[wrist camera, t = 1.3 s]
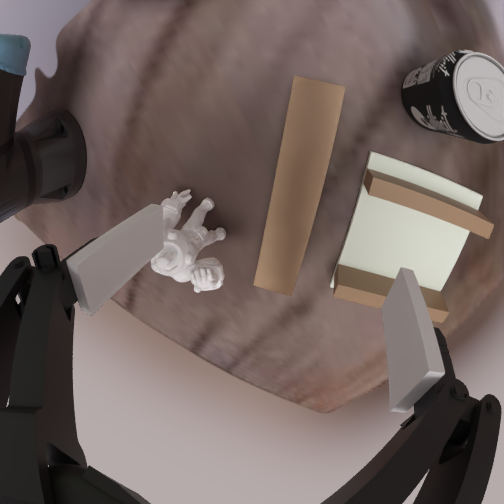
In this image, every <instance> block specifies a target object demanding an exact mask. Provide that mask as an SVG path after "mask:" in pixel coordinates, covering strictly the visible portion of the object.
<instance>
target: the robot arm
mask: <svg viewBox="0 0 504 504" xmlns="http://www.w3.org/2000/svg"><path fill="white" fill-rule="evenodd" d="M30 47H31V44H30V41H29V39H28V38H27V37H25V36H21V35H11V34H0V223H1V222H3V221H4V220H6V219H8V218H9V217H11V216H13V215H14V214H16V213H18V212H19V211H21V210H23V209H25V208H26V207H28V206H30V205H32V204H39V203H49V202H59V201H63V200H65V199H67V198H69V197H71V196H73V195H74V194H76V193H77V191H78V190H79V189H80V187H81V185H82V182H83V179H84V175H85V170H86V149H85V143H84V138H83V135H82V132H81V129H80V127H79V125H78V123H77V121H76V120H75V119H74V117H73V116H72V115H71V114H69V113H68V112H66V111H62V110H58V111H53V112H49V113H46V114H44V115H42V116H41V117H39V118H37V119H36V120H34V121H33V122H31V123H30V124H28V125H27V126H26V127H24V128H23V129H21V130H20V131H18V132H15V125H16V117H17V109H18V102H19V97H20V91H21V86H22V82H23V78H24V76H25V75H26V65H27V61H28V57H29V52H30ZM163 248H164V240H163V206H161V205H157V204H150V205H149V206H147V207H145V208H144V209H142V210H140V211H139V212H137V213H135V214H134V215H132V216H131V217H129V218H127V219H126V220H124V221H123V222H121V223H120V224H118V225H117V226H115V227H113V228H112V229H110V230H109V231H107V232H106V233H104V234H103V235H101V236H99V237H97V238H94V239H92V240H90V241H89V242H87V243H86V244H85V245H83V246H82V247H80V248H79V249H77V250H76V251H74V252H73V253H72V254H70V255H69V256H68V257H66V258H65V259H63V260H62V261H61V262H60V259H59V255H58V251H57V247H56V246H55V245H52V244H46V245H42V246H40V247H38V248H37V249H35V250H34V251H33V253H32V257H33V260H34V263H35V267H34V266H31V263H30V260H29V258H28V257H26V256H20V257H17V258H15V259H14V260H12V262H10V264H9V265H8V266H7V267H6V269H5V270H4V272H3V273H2V274H1V276H0V504H150V503H149V502H148V501H147V500H145V499H144V498H143V497H142V496H140V495H139V494H138V493H136V492H134V491H132V490H130V489H128V488H127V487H125V486H123V485H121V484H119V483H118V482H116V481H115V480H113V479H111V478H109V477H107V476H106V475H104V474H102V473H101V472H99V471H97V470H96V469H94V468H93V467H91V466H88V468H87V463H86V459H85V455H84V452H83V450H82V448H81V446H80V444H79V442H78V438H77V431H76V423H75V412H74V399H73V375H72V374H73V373H72V370H73V368H72V360H73V357H72V355H73V331H74V316H75V308H74V305H73V304H74V303H76V302H77V301H78V303H79V305H80V308H81V310H82V311H83V312H85V313H87V314H89V315H91V316H93V315H94V314H95V313H96V312H97V311H98V310H99V309H100V308H101V307H102V306H103V305H104V304H105V303H106V302H107V301H108V300H109V299H110V298H111V297H112V296H113V295H114V294H115V293H116V292H117V291H118V290H119V289H120V288H121V287H122V286H123V285H124V284H125V283H126V282H127V281H129V280H130V279H131V278H132V277H133V276H134V275H135V274H136V273H137V272H138V271H139V270H140V269H141V268H142V267H144V266H145V265H146V264H147V263H148V262H149V261H150V260H151V259H152V258H153V257H154V256H156V255H157V254H158V253H159V252H160V251H161V250H162V249H163ZM17 294H18V296H19V298H20V303H19V304H17V302H16V299H15V298H16V296H17ZM381 310H382V317H383V325H384V333H385V341H386V351H387V362H388V375H389V391H390V411H393V412H404V413H405V412H407V411H408V410H409V409H410V408H411V407H412V406H413V405H414V414H413V415H412V416H411V417H409V418H408V419H407V420H406V421H405V422H403V423H402V424H401V425H400V426H401V428H400V430H399V431H398V432H397V433H396V434H395V436H394V437H393V438H392V439H391V440H390V441H389V442H388V443H387V444H386V445H385V446H384V447H383V449H382V450H381V451H380V452H379V453H378V454H377V455H376V456H375V457H374V458H373V459H372V460H371V461H370V462H369V463H368V464H367V465H366V466H365V467H364V468H363V469H361V470H360V471H359V472H358V473H357V474H356V475H355V476H354V477H353V478H352V479H351V480H349V481H348V482H347V483H346V484H345V485H344V486H342V487H341V488H340V489H339V490H338V491H336V492H335V493H334V494H333V495H332V496H330V497H329V498H327V499H326V500H325V501H324V502H322V503H321V504H402V503H403V502H404V501H405V500H406V498H407V497H408V496H409V495H410V494H411V492H412V491H413V490H414V488H415V487H416V486H417V485H418V484H419V482H420V481H421V480H422V478H423V477H424V475H425V474H426V473H427V471H428V469H429V472H428V474H427V476H426V478H425V481H424V483H423V485H422V487H421V489H420V491H419V493H418V495H417V497H416V499H415V501H414V503H413V504H481V503H482V500H483V497H484V494H485V491H486V488H487V484H488V481H489V477H490V474H491V470H492V466H493V462H494V457H495V452H496V446H497V441H498V435H499V428H500V421H501V405H500V402H499V400H498V399H497V398H496V397H495V396H494V395H491V394H487V395H485V397H483V398H482V399H481V400H480V401H479V400H477V399H475V398H472V397H470V396H469V392H468V389H467V387H466V386H465V385H464V383H463V382H461V381H460V380H458V379H456V377H455V373H454V370H453V365H452V361H451V358H450V355H449V350H448V348H447V344H446V340H445V337H444V336H443V334H442V333H441V331H440V330H439V328H435V327H433V325H432V321H431V318H430V315H429V312H428V309H427V306H426V303H425V300H424V298H423V295H422V292H421V289H420V287H419V284H418V281H417V279H416V276H415V274H414V271H413V270H410V269H407V268H403V267H401V268H400V270H399V272H398V274H397V276H396V279H395V281H394V283H393V285H392V287H391V289H390V291H389V293H388V295H387V297H386V299H385V301H384V303H383V305H382V307H381ZM8 398H9V405H8V407H6V406H7V402H8ZM48 465H49V467H48Z"/></svg>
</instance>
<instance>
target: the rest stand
mask: <svg viewBox="0 0 504 504" xmlns="http://www.w3.org/2000/svg"><path fill="white" fill-rule="evenodd" d="M482 197H483V196H482V195H480V194H479V193H477V192H475V191H473V190H471V189H469V188H466V187H464V186H462V185H460V184H458V183H456V182H453V181H451V180H449V179H447V178H444V177H442V176H440V175H437V174H435V173H432V172H430V171H427V170H425V169H422V168H420V167H417V166H414V165H412V164H409V163H406V162H403V161H401V160H398V159H395V158H392V157H389V156H386V155H383V154H380V153H377V152H373V151H370V152H369V156H368V160H367V164H366V168H365V172H364V176H363V180H362V183H361V187H360V191H359V194H358V198H357V201H356V205H355V208H354V212H353V215H352V218H351V222H350V225H349V228H348V231H347V234H346V237H345V241H344V244H343V247H342V250H341V253H340V256H339V259H338V261H337V264H336V267H335V270H334V273H333V276H332V278H331V281H330V287H332V288H334V293H333V297H336V298H340V299H344V300H348V301H352V302H356V303H360V304H364V305H368V306H372V307H377V308H381V307H382V305H383V303H384V301H385V299H386V297H387V295H388V293H389V291H390V289H391V287H392V285H393V283H394V281H395V279H396V276H397V274H398V272H399V270H400V268H401V267H403V268H407V269H410V270H413V271H414V274H415V276H416V279H417V281H418V284H419V287H420V289H421V292H422V295H423V298H424V300H425V303H426V306H427V309H428V312H429V315H430V318H431V320H432V321H436V322H441V323H443V321H444V320H445V318H446V317H447V315H448V314H449V311H448V308H447V306H446V303H445V301H444V299H443V296H442V294H441V292H440V291H441V290H442V288H443V286H444V284H445V282H446V280H447V278H448V277H449V275H450V273H451V271H452V269H453V267H454V265H455V263H456V261H457V259H458V257H459V254H460V252H461V250H462V248H463V246H464V243H465V241H466V239H467V237H468V234H469V232H470V231H471V232H473V233H476V234H478V235H480V236H483V237H485V238H487V239H489V237H490V234H491V232H492V229H493V227H494V224H493V223H492V222H491V221H490V220H488V219H487V218H486V217H485V216H484V215H483V214H482V213H480V212H479V211H478V209H479V206H480V203H481V200H482Z"/></svg>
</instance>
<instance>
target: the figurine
mask: <svg viewBox="0 0 504 504" xmlns="http://www.w3.org/2000/svg"><path fill="white" fill-rule="evenodd" d="M190 192H191V190H190V189H188V190H186V191H182V192H181V193H180V194H178V192H177V191H174V192H173V195H172V196H171V198H166V199H165V200H163V201H162V203H161V206H163V240H164V248H163V249H162V250H161V251H160V252H159V253H158V254H157V255H156V256H154V257H153V258H152V259H151V267H152V269H153V270H154V271H155V272H158V273H160V274H162V275H166V276H171V277H172V278H174V279H175V280H176V281H178V282H187V281H190V280H191V283H192V284H194V291H195V292H197V293H198V292H200V291H201V290H202V291H203V290H204V291H208V290H214V289H217V288H220V286H221V285H223V279H224V277H225V275H224V272H223V267H222V264H220V262H219V261H218V260H217V259H216V258H214V257H210V258H205V259H200V260H197V261H195V259H196V258H197V255H198V254H199V251H200V250H202V249H203V248H204V247H205V246H207V245H210V244H212V243H214V242H215V241H216V240H223V239H224V238H225V237H226V232H225V230H224V229H223V228H217V229H216V230H215V231H213V230H210V231H207V229H206V228H205V227H203V226H202V224H203V222H204V218H205V216H206V213H207V212H208V211H210V210H212V209H213V208H214V202H213V201H212V200H211V199H210V198H205V199H204V200H203V201H202V202H201V204H200V206H199V207H197V208H196V209H195V210H194V211H193V213H192V216H191V217H190V219H188V221H187V222H186V224H185V225H184V226H183V228H182V229H181V230H176V229H173V228H174V227H175V226H176V224H177V222H178V221H179V219H180V218H181V215H180V214H181V212H182V208H183V207H184V206H186V202H188V200H189V199H191V198H192V196H191V195H190V194H189V193H190Z"/></svg>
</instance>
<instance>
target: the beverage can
mask: <svg viewBox="0 0 504 504" xmlns="http://www.w3.org/2000/svg"><path fill="white" fill-rule="evenodd" d="M402 96H403V101H404V104H405V107H406V109H407V111H408V113H409V114H410V116H411V117H412V118H413V120H414V121H415V122H417V123H418V124H419V125H420V126H422V127H423V128H425V129H428V130H431V131H435V132H440V133H444V134H448V135H452V136H456V137H460V138H464V139H467V140H471V141H474V142H478V143H482V144H491V143H494V142H497V141H500V140H504V67H503V66H502V65H501V64H500V63H498V62H497V61H496V60H495V59H493V58H492V57H490V56H488V55H486V54H483V53H478V52H474V51H470V50H457V51H455V52H452V53H450V54H448V55H445V56H443V57H441V58H439V59H436V60H434V61H432V62H430V63H428V64H425V65H423V66H421V67H419V68H417V69H415V70H413V71H412V72H410V73H409V74H408V76H407V77H406V79H405V81H404V83H403V89H402Z"/></svg>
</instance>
